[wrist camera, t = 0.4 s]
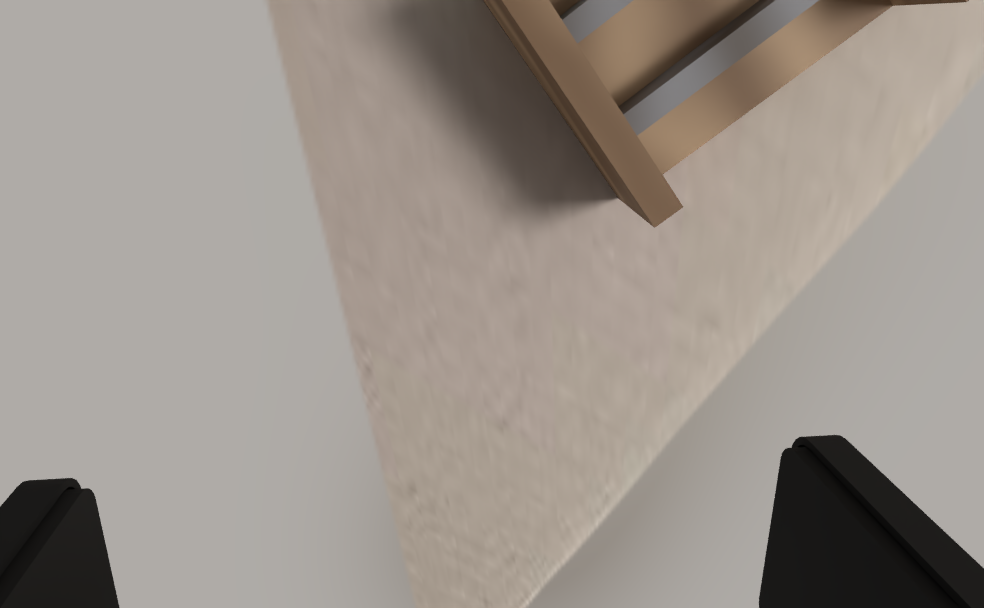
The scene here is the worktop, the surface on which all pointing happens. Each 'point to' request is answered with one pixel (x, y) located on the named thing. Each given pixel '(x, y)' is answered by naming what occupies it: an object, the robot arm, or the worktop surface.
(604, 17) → the cabinet track
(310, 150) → the worktop surface
